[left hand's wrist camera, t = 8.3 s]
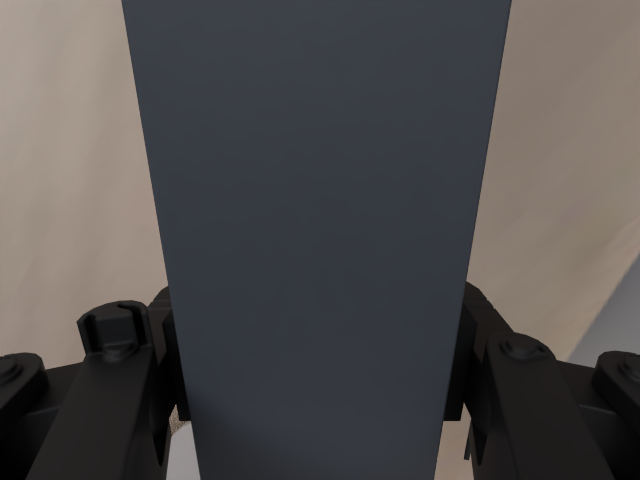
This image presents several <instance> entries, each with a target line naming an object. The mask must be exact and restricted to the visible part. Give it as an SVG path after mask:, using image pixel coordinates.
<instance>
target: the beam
mask: <svg viewBox="0 0 640 480" xmlns="http://www.w3.org/2000/svg"><path fill="white" fill-rule="evenodd" d="M511 2H512V0H122V6H123V13H124V19H125V25H126V31H127V37H128V43H129V49H130V55H131V61H132V67H133V73H134V79H135V85H136V92H137V98H138V104H139V110H140V116H141V122H142V128H143V134H144V140H145V146H146V152H147V158H148V164H149V170H150V177H151V183H152V189H153V195H154V201H155V207H156V213H157V219H158V225H159V231H160V237H161V243H162V249H163V255H164V262H165V268H166V274H167V280H168V286H169V292H170V298H171V304H172V310H173V316H174V322H175V328H176V334H177V341H178V347H179V353H180V359H181V365H182V371H183V377H184V383H185V389H186V395H187V401H188V407H189V413H190V419H191V426H192V432H193V438H194V444H195V450H196V456H197V462H198V468H199V474H200V480H434V475H435V469H436V463H437V456H438V450H439V444H440V438H441V432H442V426H443V420H444V413H445V407H446V401H447V395H448V389H449V383H450V377H451V370H452V364H453V358H454V352H455V346H456V340H457V334H458V327H459V321H460V315H461V309H462V303H463V297H464V290H465V284H466V278H467V272H468V266H469V260H470V254H471V247H472V241H473V235H474V229H475V223H476V217H477V211H478V204H479V198H480V192H481V186H482V180H483V174H484V168H485V161H486V155H487V149H488V143H489V137H490V131H491V125H492V118H493V112H494V106H495V100H496V94H497V88H498V82H499V75H500V69H501V63H502V57H503V51H504V45H505V38H506V32H507V26H508V20H509V14H510V8H511Z"/></svg>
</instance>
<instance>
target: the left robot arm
mask: <svg viewBox="0 0 640 480" xmlns="http://www.w3.org/2000/svg"><path fill="white" fill-rule="evenodd" d="M77 325H78V329H79V332H80V336H81V339H82V343H83V346H84V350H85V354H86V356H85V358H84V360H83V362H80V363H76V364H72V365H67V366H62V367H57V368H52V369H47V370H45V367H44V364H43V361H42V358H41V357H39V356H38V355H37V354H33V353H26V352H25V353H17V354H9V355H5V356H3V357H2V356H1V357H0V480H166V477H167V468H168V460H169V452H170V444H171V436H172V435H171V428H170V423H169V417H170V415H171V413H172V411H173V409H174V407H175V405H177V410H178V416H179V421H191V419H190V413H189V407H188V401H187V395H186V389H185V383H184V377H183V371H182V365H181V359H180V353H179V347H178V341H177V334H176V328H175V322H174V316H173V310H172V304H171V298H170V292H169V286H167V287H166V288H164V289H162V290H161V291H160V292H159V293H158V295H157V296H156V297H155V298H154V300H153V302H151V303H150V305H149V306H148V307H147V306H146V305H144V304H143V303H142V302H137V301H133V300H128V301H116V302H111V303H107V304H104V305H101V306H99V307H96V308H93V309H92V310H90V311H88V312H87V313H85V314H83V315H82V316H81V317H80V318H79V320H78V321H77ZM463 403H465V405H466V407H467V410H468V412H469V414H470V416H471V423H470V428H469V433H468V438H467V443H466V448H465V454H464V459H465V460H469V457H470V452H471V459H472V467H473V476H474V480H640V355H636V354H635V353H630V352H622V351H609V352H604V353H603V354H601V355H600V356H599V357H598V360H597V363H596V366H595V368H592V367H587V366H582V365H577V364H571V363H567V362H562V361H558V360H556V358H555V356H554V354H553V353H552V352H551V350H550V349H549V348H548V347H547V346H546V345H544V344H543V343H541V342H540V341H538V340H537V339H534V338H532V337H530V336H527V335H524V334H520V333H516V332H514V331H513V330H512V329H511V328H510V326H509V325H508V324H507V323H506V321H505V320H504V319H503V318H502V317H501V315H500V314H499V313H498V312H497V310H496V309H493V306H492V304H491V303H490V302H489V301H488V300H487V298H486V297H485V296H484V295H483V293H482V292H481V291H480V290H479V289H478V288H477V287H475V286H473V285H472V284H470V283H468V282H467V281H466V284H465V290H464V297H463V303H462V309H461V315H460V321H459V327H458V334H457V340H456V346H455V352H454V358H453V364H452V370H451V377H450V383H449V389H448V395H447V401H446V407H445V413H444V420H443V421H460V420H461V414H462V409H463Z"/></svg>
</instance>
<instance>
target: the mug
mask: <svg viewBox="0 0 640 480" xmlns="http://www.w3.org/2000/svg"><path fill="white" fill-rule="evenodd" d="M166 480H200V474H199V468H198V462H197V456H196V450H195V444H194V438H193V432H192V426H191V421H187V422H186V423H184V424H183V425H182V426H181V427H180V428H178V429H177V430H176V431H175V432H174V434H173V436H172V437H171V444H170V452H169V460H168V468H167V477H166Z"/></svg>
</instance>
